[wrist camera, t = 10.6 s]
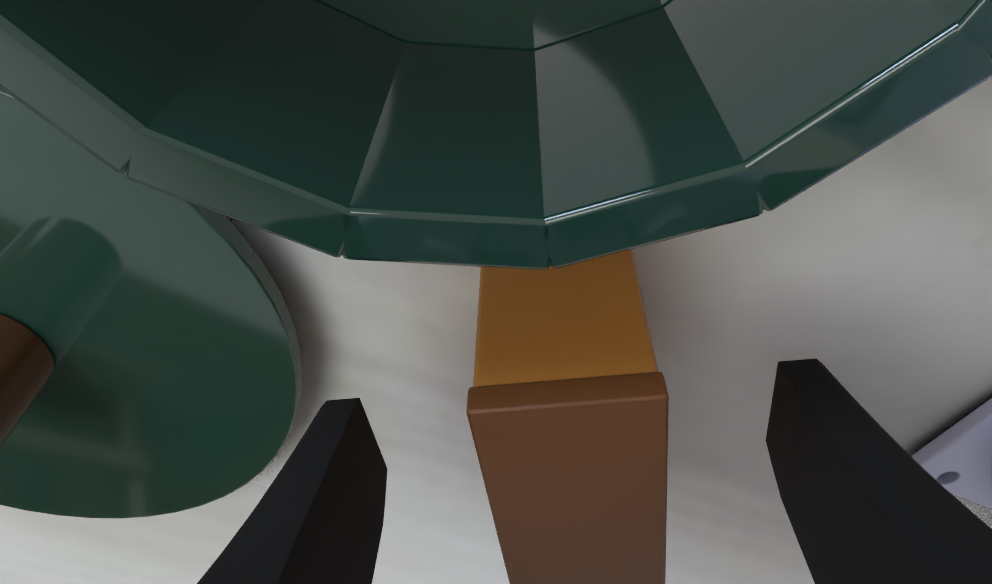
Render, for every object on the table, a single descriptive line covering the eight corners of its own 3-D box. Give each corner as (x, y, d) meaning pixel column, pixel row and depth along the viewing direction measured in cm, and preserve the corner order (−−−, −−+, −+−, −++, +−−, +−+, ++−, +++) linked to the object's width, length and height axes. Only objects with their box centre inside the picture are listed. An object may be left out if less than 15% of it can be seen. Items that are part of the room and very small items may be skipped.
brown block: (627, 371, 16) (665, 593, 12) (513, 380, 17) (513, 601, 13) (620, 184, 13) (670, 396, 9) (481, 199, 14) (465, 413, 9)
